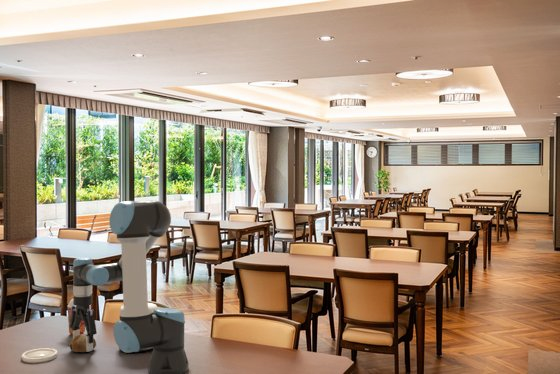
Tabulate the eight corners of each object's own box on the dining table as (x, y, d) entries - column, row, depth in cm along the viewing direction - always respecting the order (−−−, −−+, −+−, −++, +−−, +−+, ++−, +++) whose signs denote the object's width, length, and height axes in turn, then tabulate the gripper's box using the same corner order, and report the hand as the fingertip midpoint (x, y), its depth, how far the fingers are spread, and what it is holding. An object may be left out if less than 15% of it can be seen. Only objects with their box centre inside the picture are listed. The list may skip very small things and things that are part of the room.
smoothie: (66, 333, 258) (66, 290, 258) (85, 331, 262) (85, 288, 261) (67, 338, 251) (68, 293, 250) (87, 336, 254) (87, 292, 254)
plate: (63, 357, 225) (63, 353, 225) (31, 365, 215) (31, 361, 215) (47, 350, 234) (47, 346, 234) (16, 357, 224) (16, 353, 224)
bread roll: (82, 361, 227) (90, 344, 227) (62, 349, 229) (69, 332, 228) (95, 354, 237) (103, 338, 236) (76, 342, 239) (83, 326, 238)
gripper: (105, 297, 228) (105, 351, 228) (77, 290, 243) (77, 340, 243) (88, 300, 222) (88, 355, 223) (61, 292, 237) (61, 344, 238)
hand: (82, 348), depth 233 cm, fingers closed on bread roll, 10 cm apart
